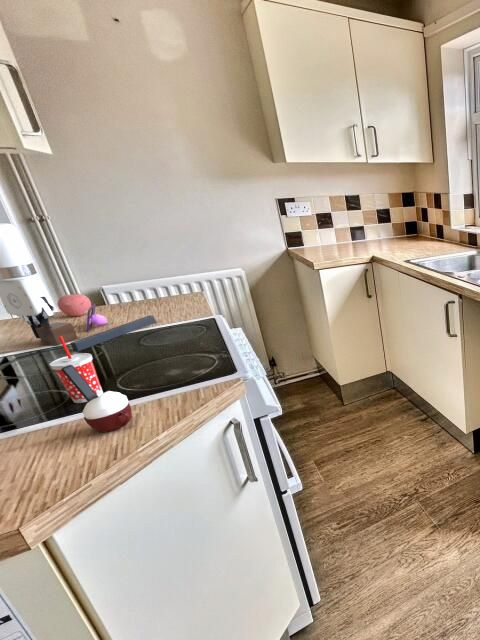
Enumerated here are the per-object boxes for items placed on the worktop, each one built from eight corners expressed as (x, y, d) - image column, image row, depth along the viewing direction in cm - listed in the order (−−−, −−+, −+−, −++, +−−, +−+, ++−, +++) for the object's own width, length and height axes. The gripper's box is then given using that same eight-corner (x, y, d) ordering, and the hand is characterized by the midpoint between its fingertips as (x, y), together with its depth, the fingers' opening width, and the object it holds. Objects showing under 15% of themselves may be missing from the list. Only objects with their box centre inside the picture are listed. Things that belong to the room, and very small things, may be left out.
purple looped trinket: (90, 302, 129) (84, 310, 122) (113, 305, 132) (108, 312, 125) (88, 323, 130) (82, 332, 123) (111, 325, 133) (107, 333, 127)
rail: (73, 351, 111) (69, 342, 110) (152, 322, 131) (149, 315, 130) (78, 351, 111) (74, 343, 110) (156, 323, 131) (153, 315, 130)
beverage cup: (77, 394, 90) (48, 333, 84) (113, 388, 92) (87, 328, 86) (62, 408, 84) (30, 344, 79) (100, 402, 86) (71, 339, 81)
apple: (101, 312, 141) (91, 289, 138) (76, 320, 135) (66, 296, 131) (83, 311, 142) (73, 288, 139) (58, 319, 136) (47, 295, 133)
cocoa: (142, 426, 78) (118, 368, 73) (97, 443, 73) (68, 382, 69) (128, 410, 83) (104, 355, 79) (85, 425, 79) (57, 367, 74)
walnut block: (43, 345, 115) (35, 328, 113) (63, 338, 120) (56, 322, 118) (58, 346, 115) (50, 329, 113) (78, 339, 119) (71, 322, 117)
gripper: (-27, 274, 108) (7, 340, 115) (21, 276, 106) (52, 343, 113) (9, 268, 115) (39, 330, 122) (54, 269, 113) (82, 333, 120)
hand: (45, 336), depth 118 cm, fingers closed
